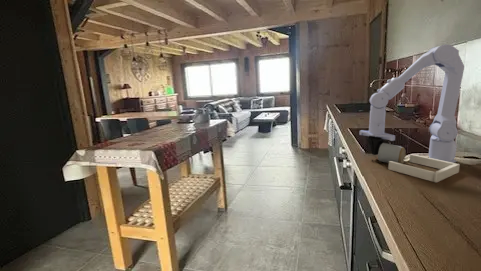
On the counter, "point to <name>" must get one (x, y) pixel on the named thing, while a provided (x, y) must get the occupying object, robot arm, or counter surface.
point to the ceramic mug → (391, 153)
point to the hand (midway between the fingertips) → (375, 154)
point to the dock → (437, 176)
